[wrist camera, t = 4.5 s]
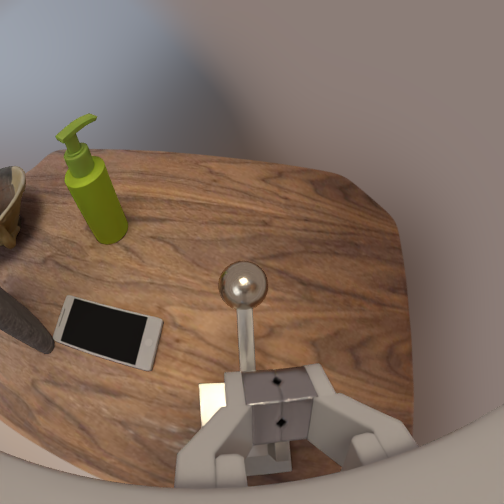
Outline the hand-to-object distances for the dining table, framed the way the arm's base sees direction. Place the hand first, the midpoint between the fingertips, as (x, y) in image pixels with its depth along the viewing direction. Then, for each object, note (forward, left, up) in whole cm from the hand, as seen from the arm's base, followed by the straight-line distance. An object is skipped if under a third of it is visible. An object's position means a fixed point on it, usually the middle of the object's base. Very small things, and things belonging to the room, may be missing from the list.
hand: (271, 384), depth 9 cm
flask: (-1, +34, -28) cm, 44 cm away
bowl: (+12, +50, -28) cm, 59 cm away
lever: (+4, +1, -14) cm, 15 cm away
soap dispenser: (+19, +27, -28) cm, 44 cm away
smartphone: (+3, +20, -28) cm, 35 cm away
